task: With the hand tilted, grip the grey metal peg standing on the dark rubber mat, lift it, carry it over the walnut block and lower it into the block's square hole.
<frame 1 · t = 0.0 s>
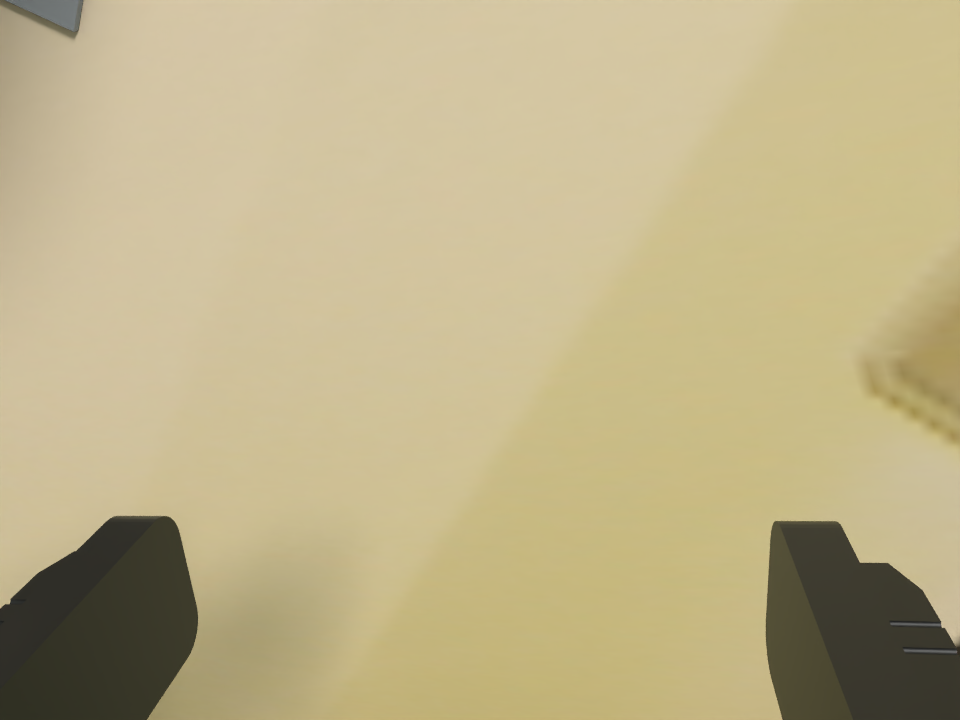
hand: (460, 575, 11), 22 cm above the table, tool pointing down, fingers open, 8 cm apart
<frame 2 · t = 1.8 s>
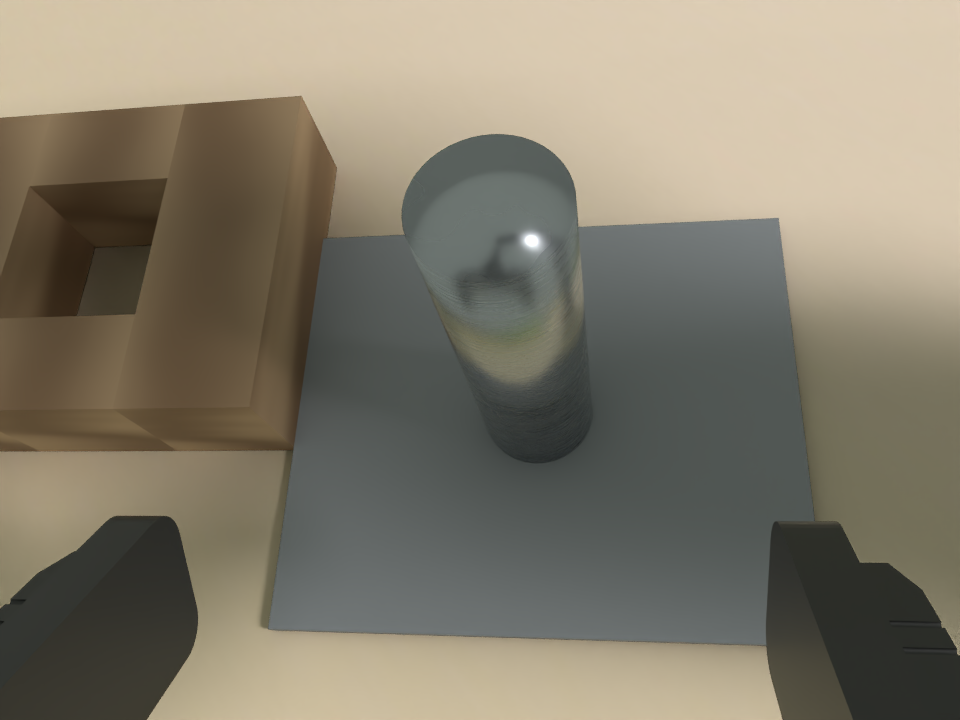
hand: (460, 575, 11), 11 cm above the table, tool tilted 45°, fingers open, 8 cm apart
mat: (539, 415, 23), on the table
hole block: (142, 303, 27), on the table
peg: (538, 411, 23), resting on mat
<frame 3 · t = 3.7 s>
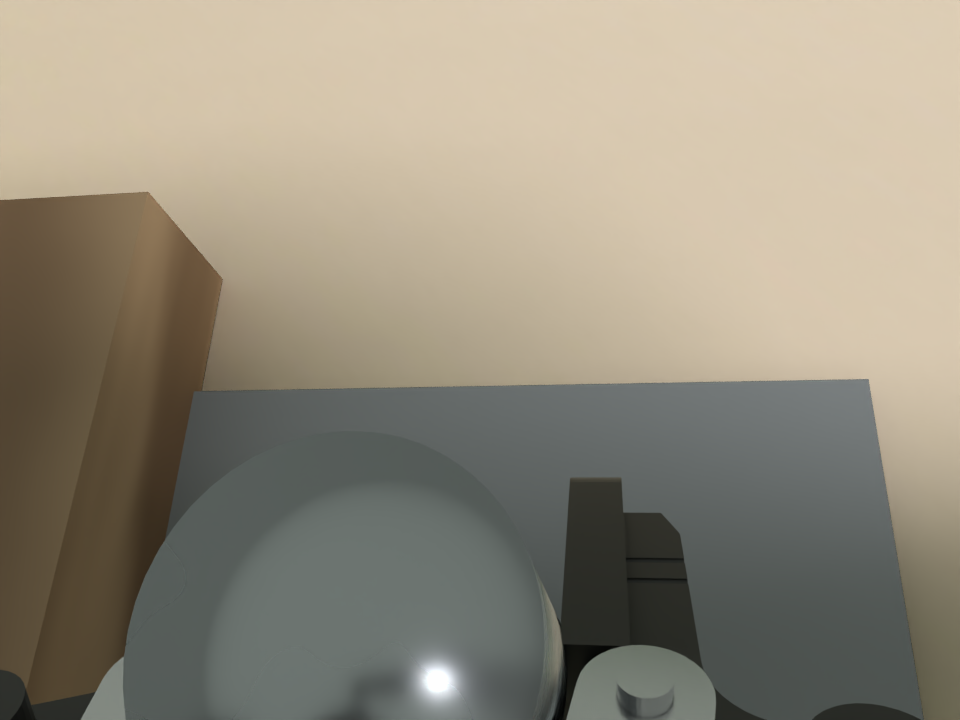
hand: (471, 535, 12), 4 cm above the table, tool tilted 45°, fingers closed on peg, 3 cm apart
mat: (504, 698, 15), on the table
peg: (502, 697, 15), resting on mat, touching gripper
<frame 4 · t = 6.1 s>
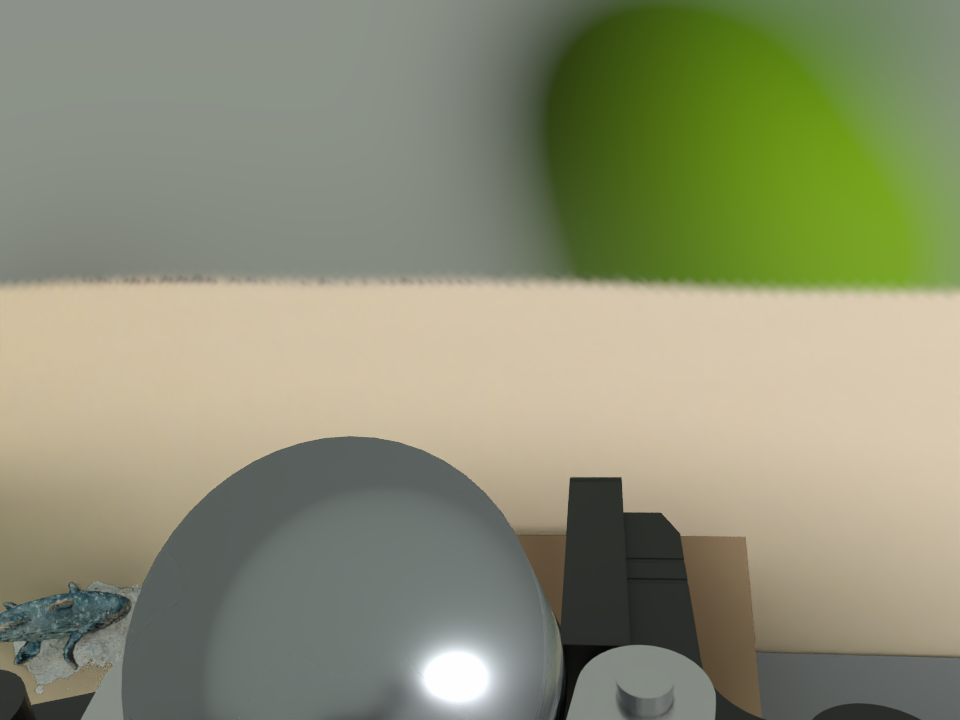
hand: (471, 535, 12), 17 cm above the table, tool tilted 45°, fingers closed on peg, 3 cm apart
sculpture: (97, 635, 31), on the table
hole block: (552, 712, 27), on the table
peg: (502, 700, 15), point 14 cm above the table, touching gripper
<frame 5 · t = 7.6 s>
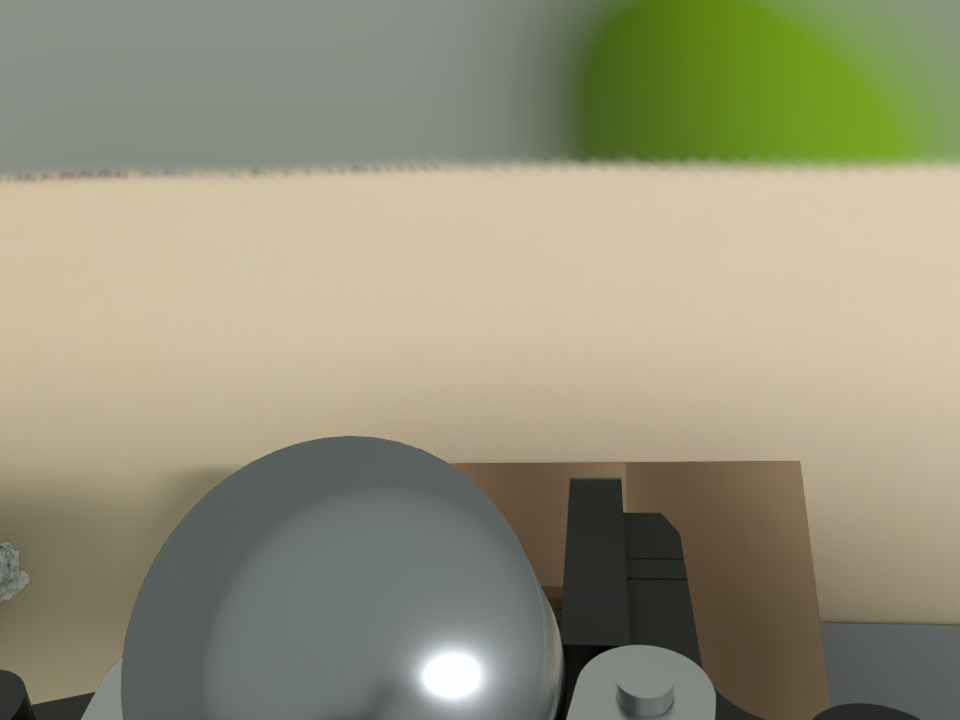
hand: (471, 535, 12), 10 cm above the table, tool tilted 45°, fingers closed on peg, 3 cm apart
hole block: (537, 704, 20), on the table
peg: (502, 700, 15), point 6 cm above the table, touching gripper
when the fingers open (7 cm above the table, at t = 8.7 s): peg drops 3 cm, resting in hole block.
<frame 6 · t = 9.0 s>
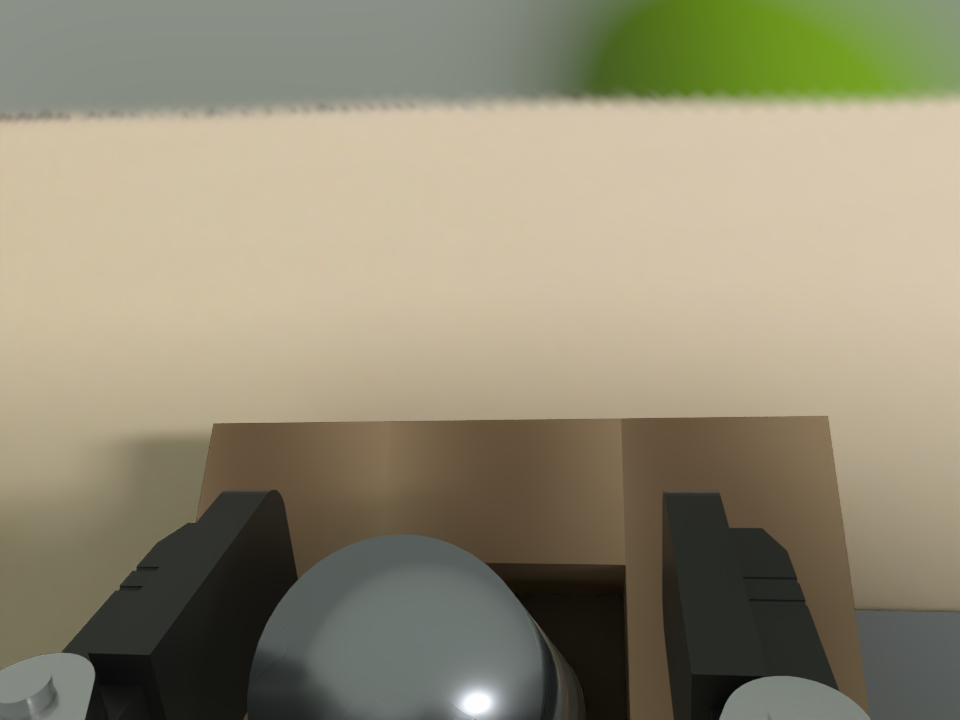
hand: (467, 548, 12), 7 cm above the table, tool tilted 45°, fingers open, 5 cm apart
hole block: (517, 704, 17), on the table
peg: (512, 710, 17), resting in hole block
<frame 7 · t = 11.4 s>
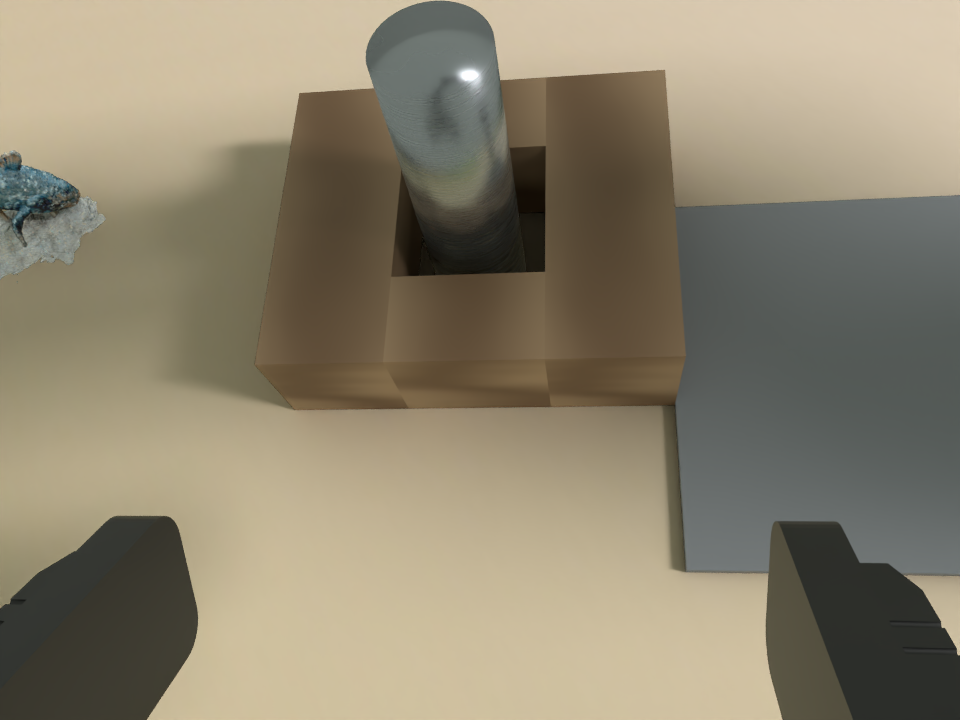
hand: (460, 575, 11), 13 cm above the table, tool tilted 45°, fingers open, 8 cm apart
mat: (913, 371, 25), on the table
sculpture: (47, 248, 32), on the table
hole block: (484, 269, 28), on the table
peg: (481, 273, 28), resting in hole block
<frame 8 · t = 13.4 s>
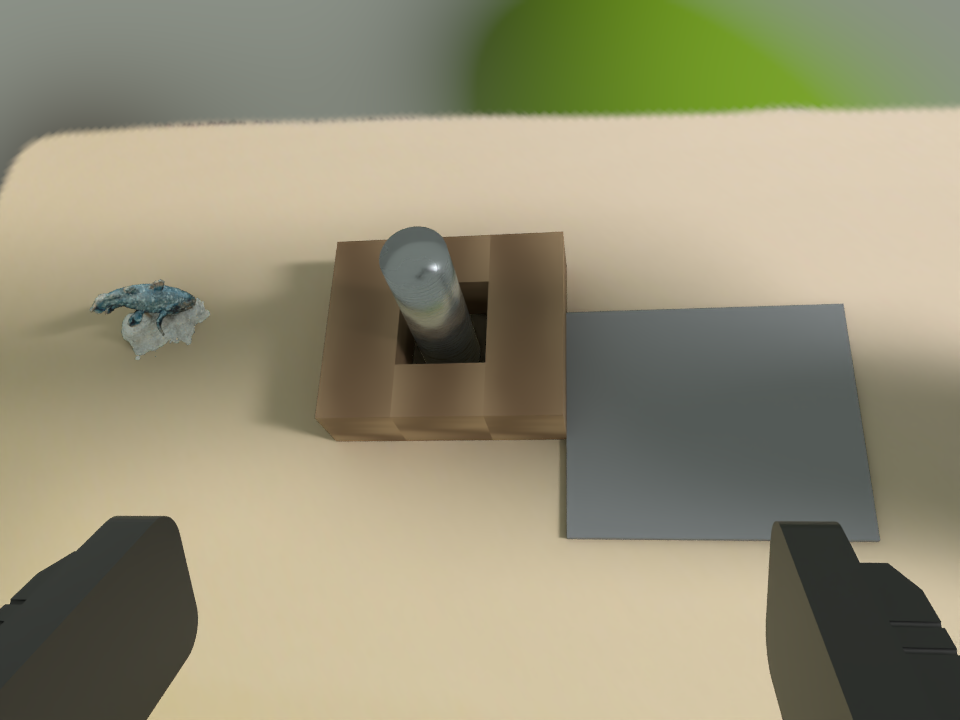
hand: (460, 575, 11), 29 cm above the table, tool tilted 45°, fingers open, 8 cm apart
mat: (709, 418, 41), on the table
sculpture: (171, 331, 49), on the table
hole block: (454, 351, 45), on the table
peg: (452, 353, 45), resting in hole block
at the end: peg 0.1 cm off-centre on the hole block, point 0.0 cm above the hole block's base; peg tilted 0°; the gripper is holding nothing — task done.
